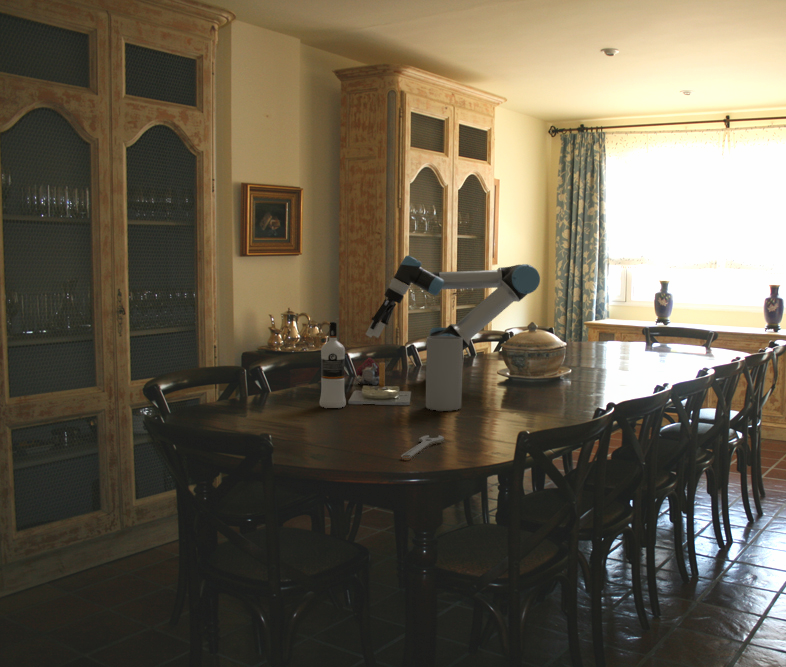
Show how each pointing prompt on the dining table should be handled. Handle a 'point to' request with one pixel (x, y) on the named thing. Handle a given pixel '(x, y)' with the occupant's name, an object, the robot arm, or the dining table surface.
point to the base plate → (359, 399)
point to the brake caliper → (368, 373)
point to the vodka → (332, 371)
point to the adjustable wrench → (422, 445)
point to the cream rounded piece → (381, 388)
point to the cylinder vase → (444, 373)
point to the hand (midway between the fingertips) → (371, 336)
